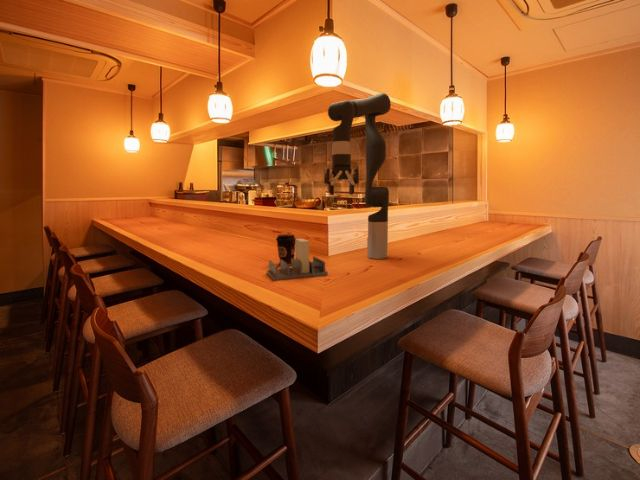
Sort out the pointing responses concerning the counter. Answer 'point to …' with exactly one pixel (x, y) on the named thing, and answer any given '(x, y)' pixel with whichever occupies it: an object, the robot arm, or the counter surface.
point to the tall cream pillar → (302, 253)
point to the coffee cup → (286, 247)
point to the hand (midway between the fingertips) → (341, 194)
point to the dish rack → (296, 269)
